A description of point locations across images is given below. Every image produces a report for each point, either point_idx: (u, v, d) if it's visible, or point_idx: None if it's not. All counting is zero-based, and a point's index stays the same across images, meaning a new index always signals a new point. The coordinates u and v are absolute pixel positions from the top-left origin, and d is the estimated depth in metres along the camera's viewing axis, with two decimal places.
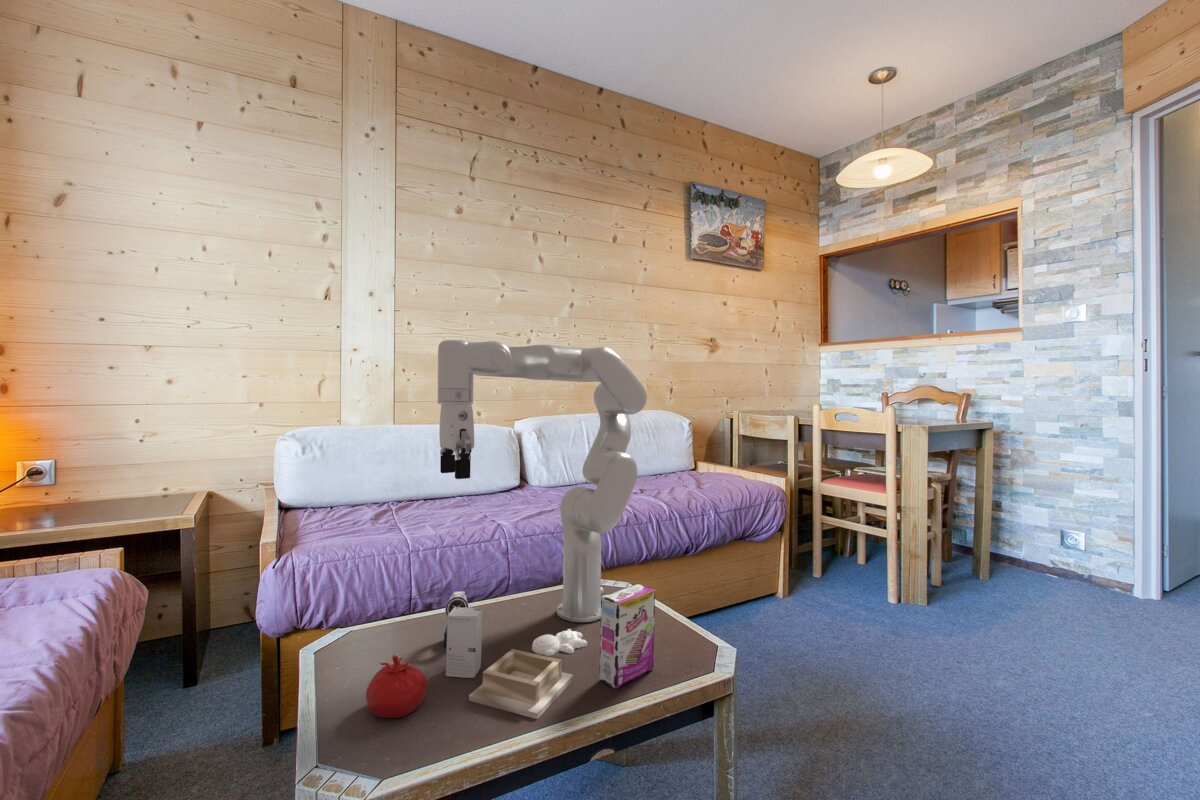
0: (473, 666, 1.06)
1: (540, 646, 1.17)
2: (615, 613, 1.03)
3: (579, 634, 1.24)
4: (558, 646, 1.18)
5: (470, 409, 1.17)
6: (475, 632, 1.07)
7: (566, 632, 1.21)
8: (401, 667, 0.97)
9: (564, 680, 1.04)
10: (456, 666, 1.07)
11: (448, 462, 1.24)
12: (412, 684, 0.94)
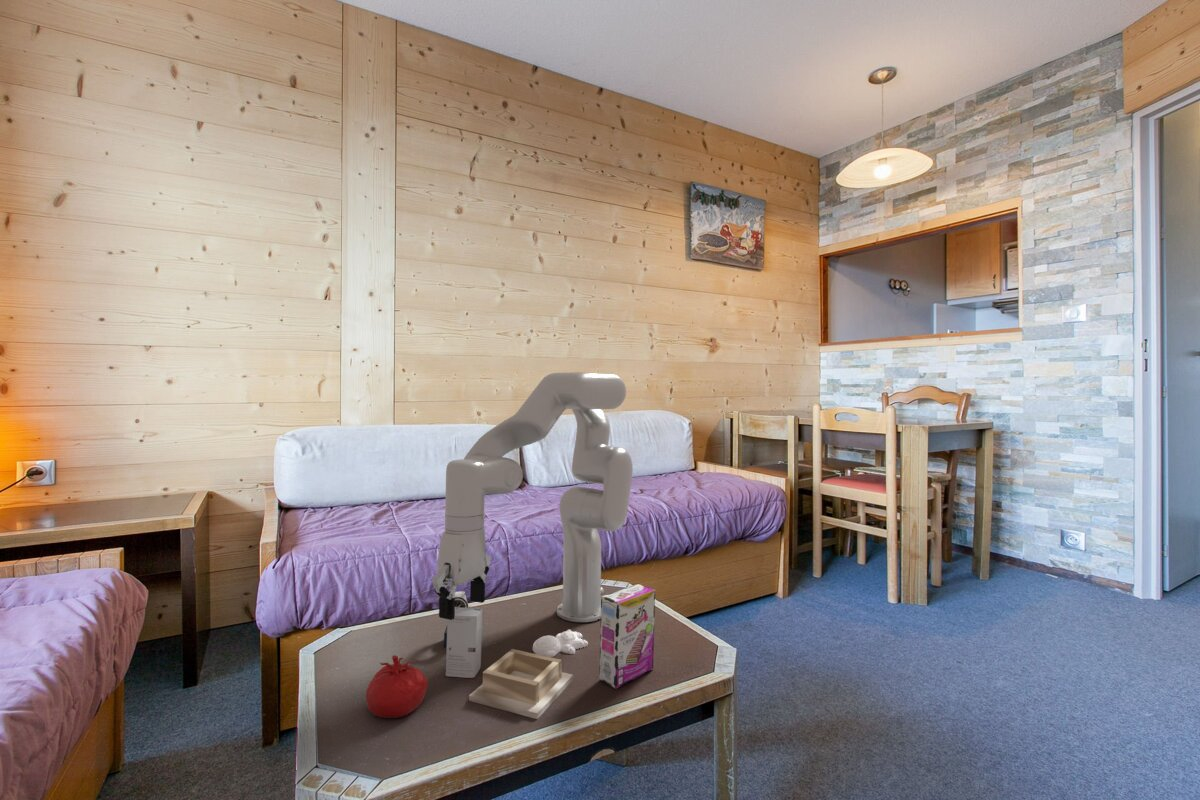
0: (473, 666, 1.06)
1: (541, 647, 1.17)
2: (615, 613, 1.03)
3: (579, 634, 1.24)
4: (559, 647, 1.18)
5: None
6: (475, 632, 1.07)
7: (567, 632, 1.21)
8: (401, 667, 0.97)
9: (564, 680, 1.04)
10: (456, 666, 1.07)
11: None
12: (412, 684, 0.94)
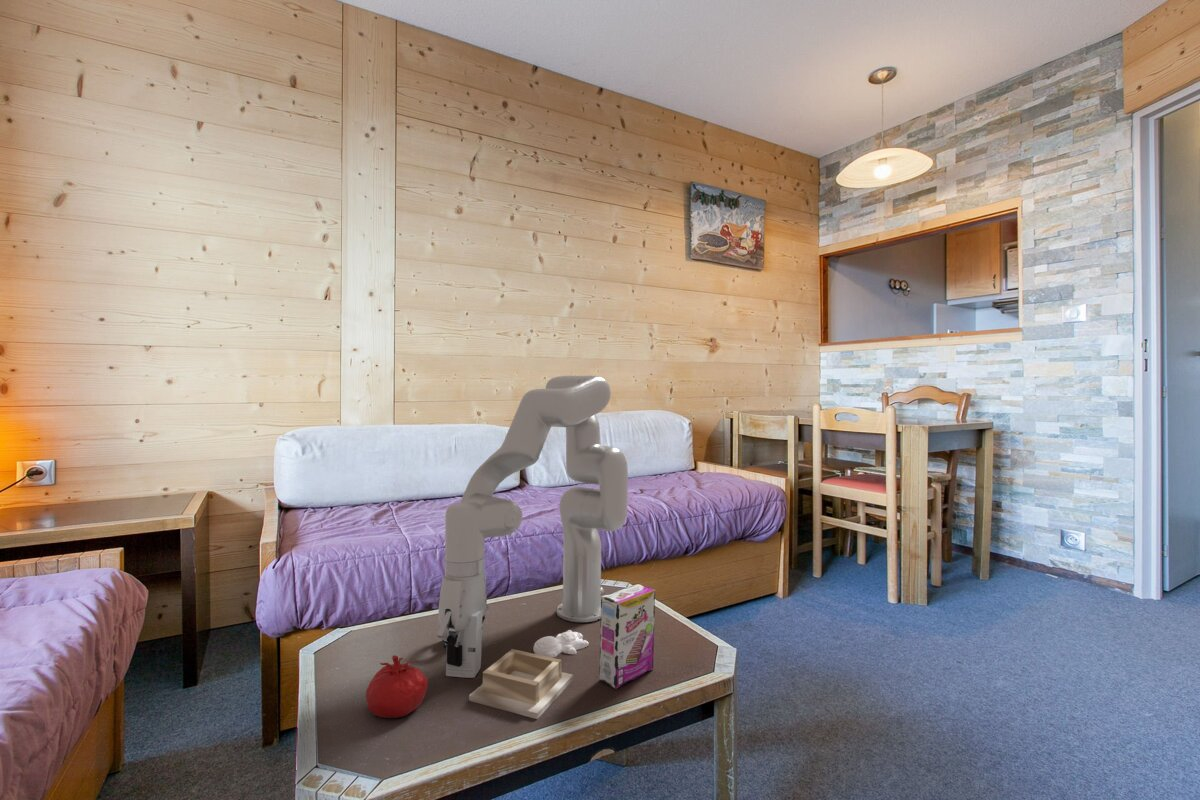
0: (473, 666, 1.06)
1: (542, 648, 1.16)
2: (615, 613, 1.03)
3: (579, 635, 1.24)
4: (560, 648, 1.18)
5: None
6: (475, 632, 1.07)
7: (567, 633, 1.21)
8: (401, 667, 0.97)
9: (564, 680, 1.04)
10: (456, 666, 1.07)
11: None
12: (412, 684, 0.94)
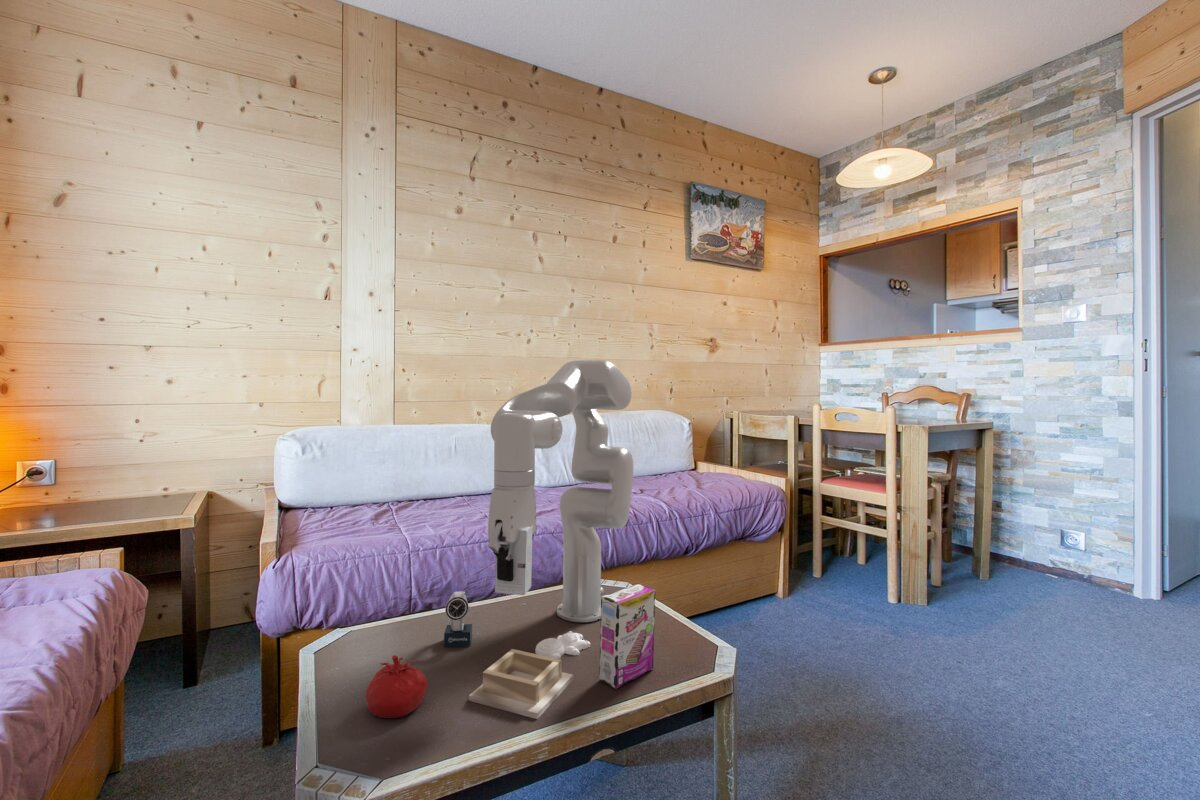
0: (523, 583, 1.01)
1: (546, 650, 1.16)
2: (615, 613, 1.03)
3: (580, 635, 1.23)
4: (563, 649, 1.17)
5: None
6: (525, 547, 1.01)
7: (569, 634, 1.20)
8: (401, 667, 0.97)
9: (564, 680, 1.04)
10: (506, 582, 1.01)
11: None
12: (412, 684, 0.94)
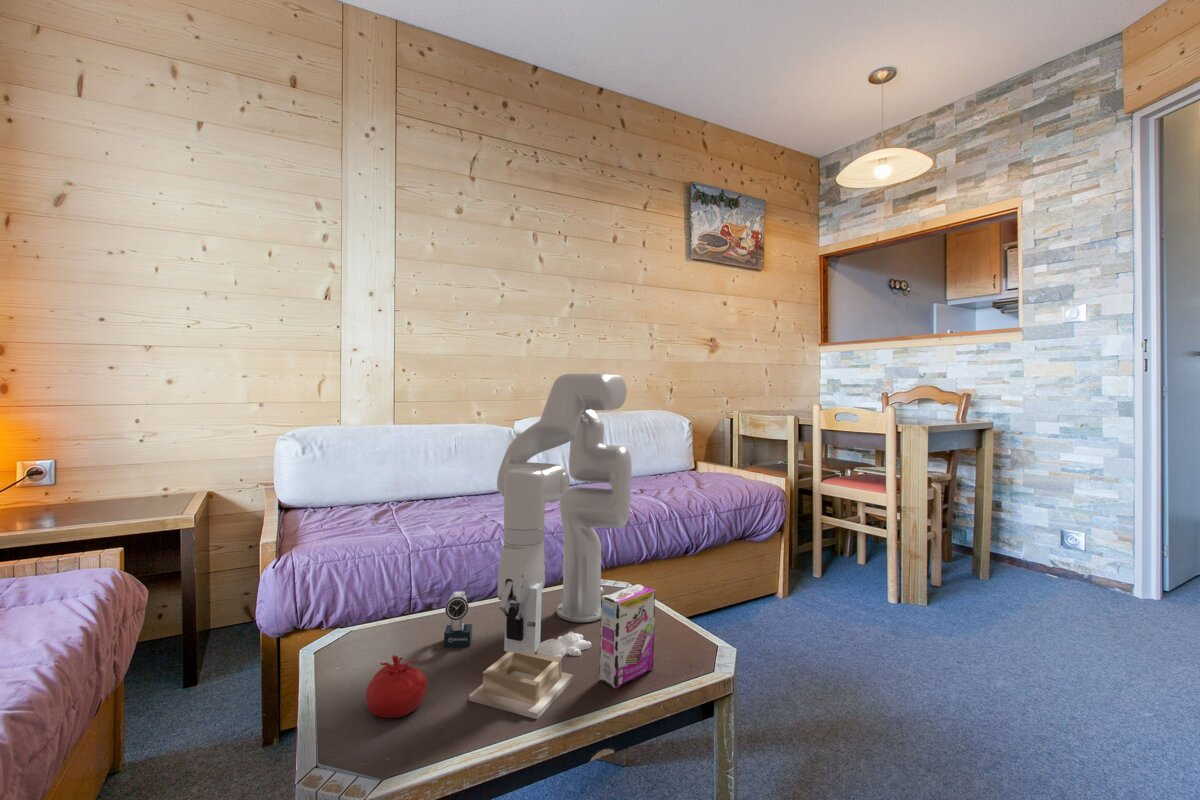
0: (533, 642, 1.00)
1: (547, 651, 1.15)
2: (615, 613, 1.03)
3: (580, 636, 1.23)
4: (564, 650, 1.17)
5: None
6: (535, 605, 1.00)
7: (570, 635, 1.20)
8: (401, 667, 0.97)
9: (564, 680, 1.04)
10: (515, 641, 1.00)
11: None
12: (412, 684, 0.94)
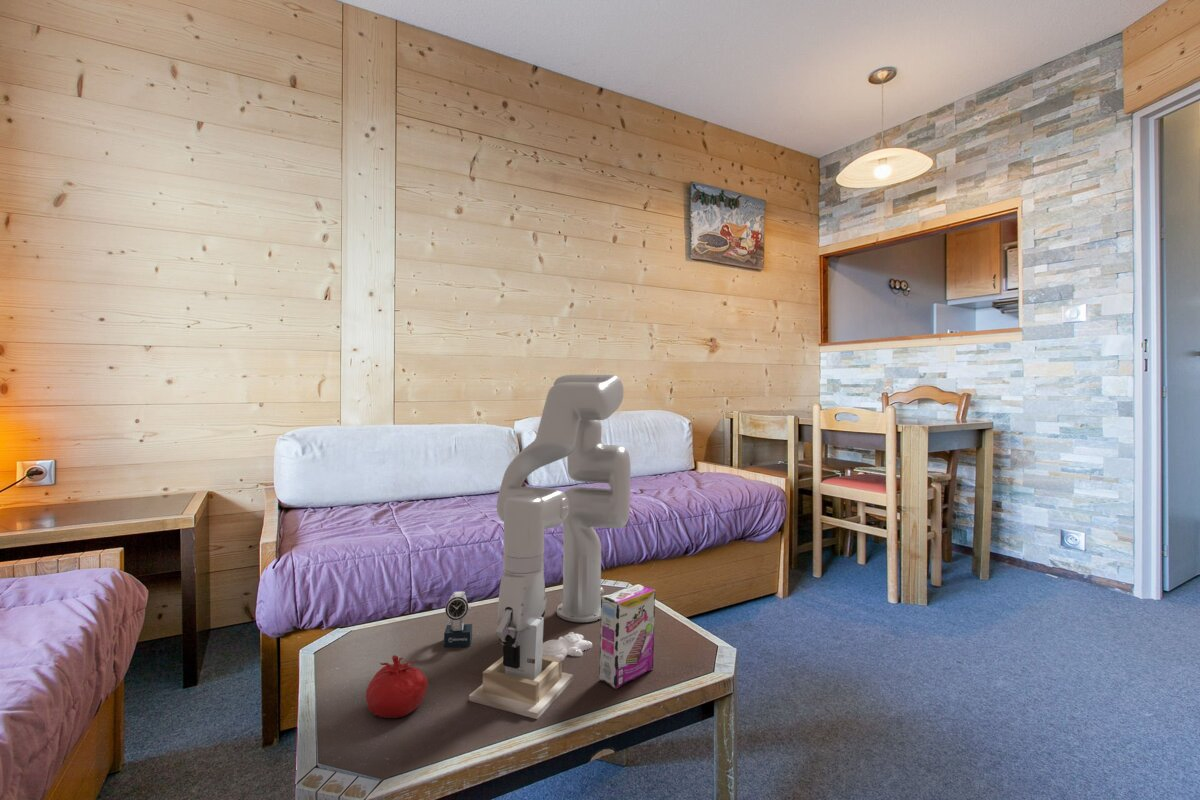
0: (532, 678, 1.00)
1: (549, 652, 1.15)
2: (615, 613, 1.03)
3: (581, 636, 1.23)
4: (566, 650, 1.17)
5: None
6: (534, 642, 1.00)
7: (571, 635, 1.20)
8: (401, 667, 0.97)
9: (564, 680, 1.04)
10: None
11: None
12: (412, 684, 0.94)
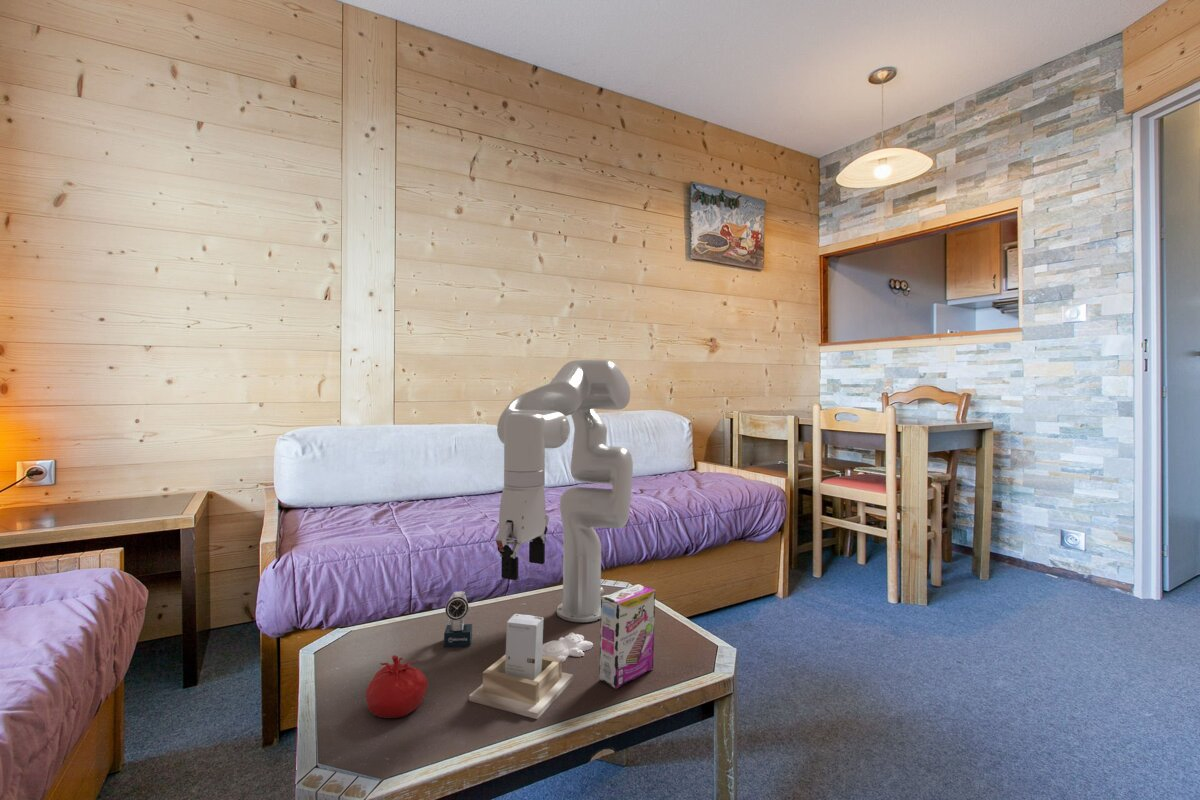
0: (532, 678, 1.00)
1: (551, 653, 1.14)
2: (615, 613, 1.03)
3: (581, 636, 1.23)
4: (567, 651, 1.16)
5: None
6: (534, 642, 1.00)
7: (571, 636, 1.20)
8: (401, 667, 0.97)
9: (564, 680, 1.04)
10: None
11: None
12: (412, 684, 0.94)
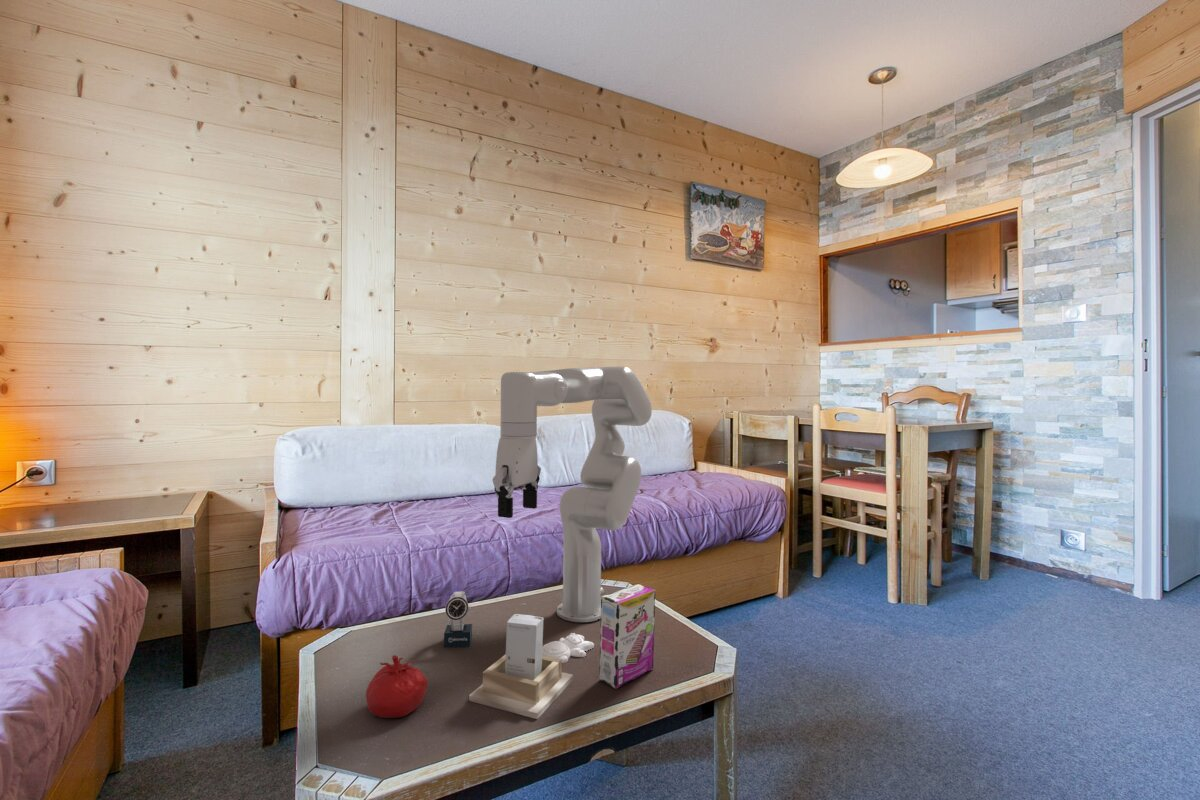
0: (532, 678, 1.00)
1: (553, 654, 1.14)
2: (615, 613, 1.03)
3: (582, 637, 1.23)
4: (569, 651, 1.16)
5: None
6: (534, 642, 1.00)
7: (573, 636, 1.19)
8: (401, 667, 0.97)
9: (564, 680, 1.04)
10: None
11: None
12: (412, 684, 0.94)
